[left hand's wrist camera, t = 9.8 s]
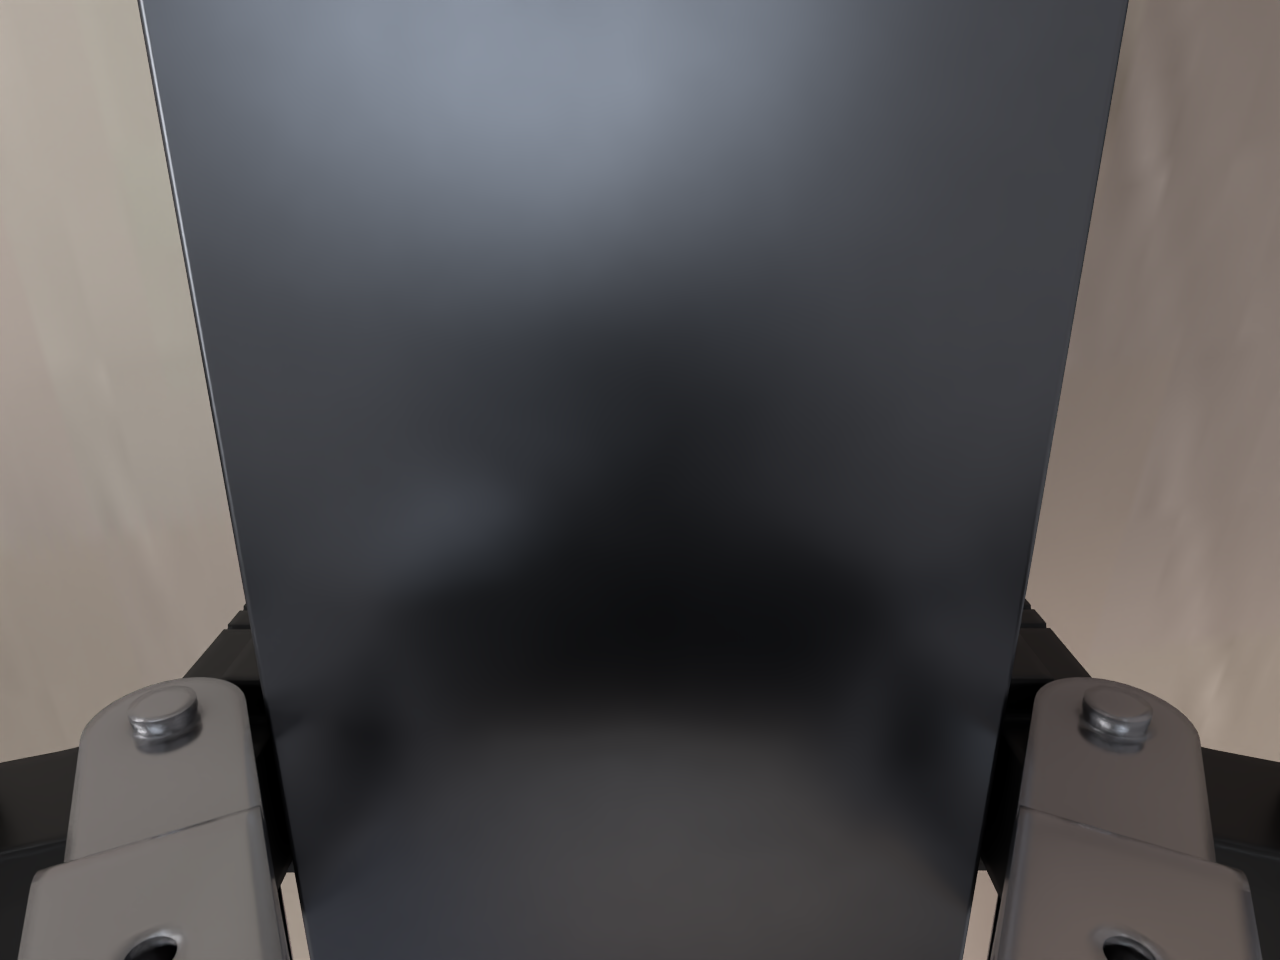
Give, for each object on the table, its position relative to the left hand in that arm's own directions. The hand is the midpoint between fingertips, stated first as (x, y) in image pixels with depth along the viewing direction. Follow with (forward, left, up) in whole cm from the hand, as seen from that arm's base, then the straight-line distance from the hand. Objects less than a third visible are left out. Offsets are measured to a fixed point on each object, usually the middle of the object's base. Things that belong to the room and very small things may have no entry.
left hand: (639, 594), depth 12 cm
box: (+8, 0, -8) cm, 11 cm away
